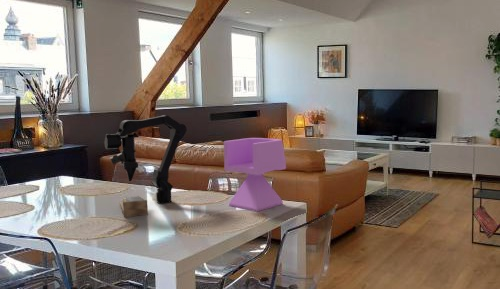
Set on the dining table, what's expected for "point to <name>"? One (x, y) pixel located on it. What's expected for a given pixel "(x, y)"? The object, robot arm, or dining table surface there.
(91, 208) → the dining table surface
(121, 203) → the roller bed
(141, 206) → the stop wall
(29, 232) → the dining table surface
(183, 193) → the dining table surface
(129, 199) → the slab
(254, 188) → the chair
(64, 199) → the dining table surface
